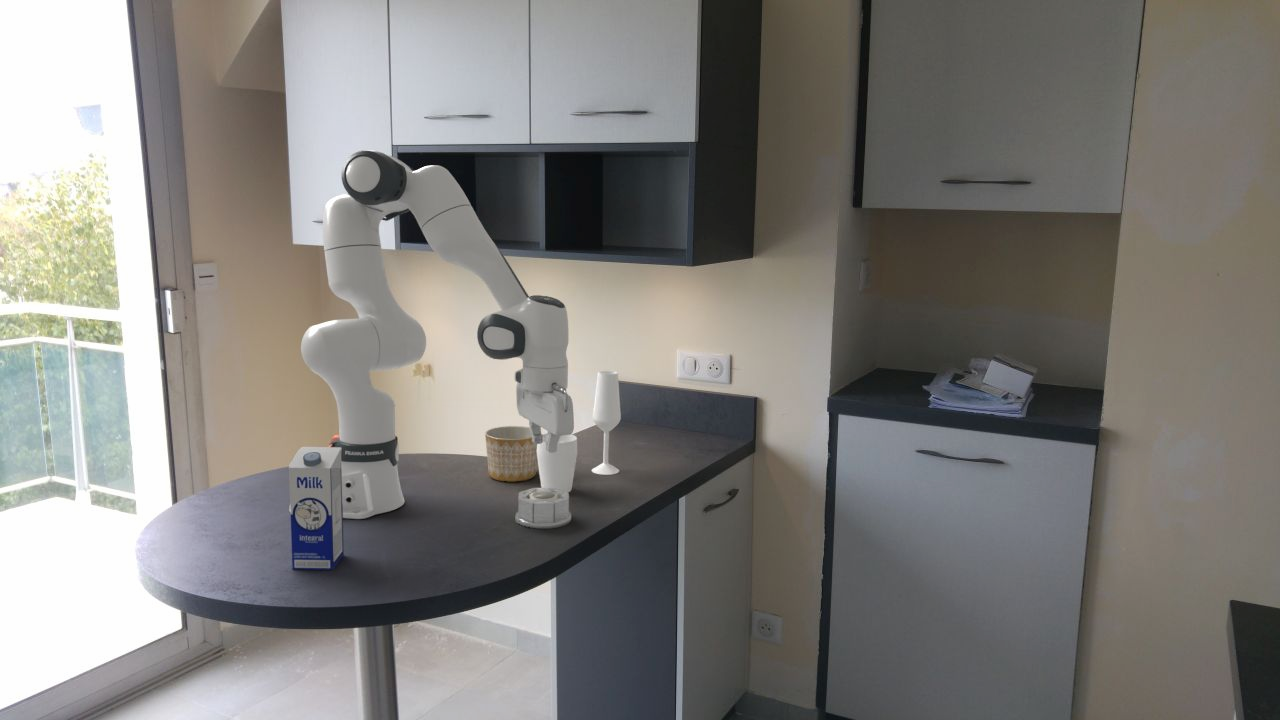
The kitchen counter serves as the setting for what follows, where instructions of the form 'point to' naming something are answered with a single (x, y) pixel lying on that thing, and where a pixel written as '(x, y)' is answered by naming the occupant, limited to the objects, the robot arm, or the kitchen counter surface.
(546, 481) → the cup
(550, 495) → the cap
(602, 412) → the champagne flute
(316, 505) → the milk carton
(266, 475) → the kitchen counter surface
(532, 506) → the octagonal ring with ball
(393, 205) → the robot arm
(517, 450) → the planter
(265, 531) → the kitchen counter surface
